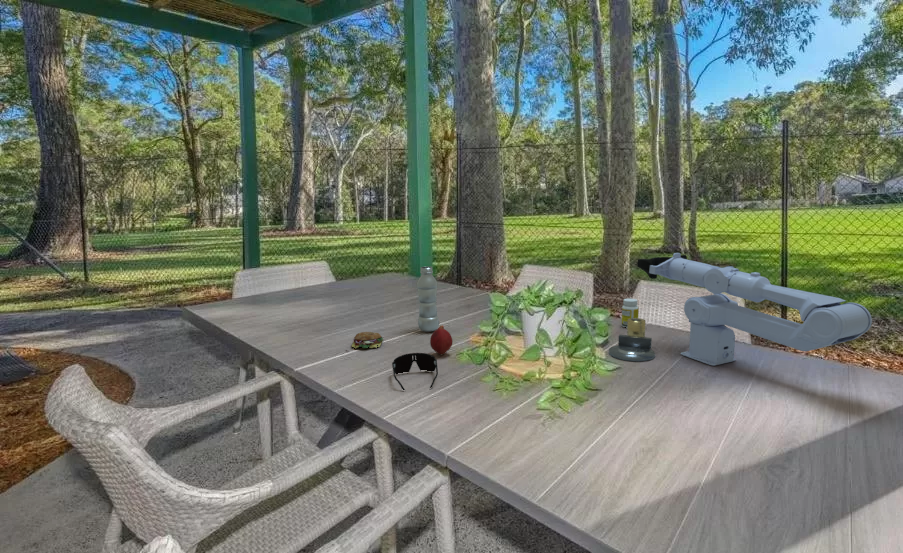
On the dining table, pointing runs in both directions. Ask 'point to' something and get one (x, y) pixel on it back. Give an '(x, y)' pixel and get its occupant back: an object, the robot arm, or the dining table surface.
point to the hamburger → (367, 340)
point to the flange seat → (633, 349)
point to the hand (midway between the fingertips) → (649, 261)
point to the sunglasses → (422, 361)
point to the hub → (636, 327)
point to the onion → (441, 340)
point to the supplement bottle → (629, 311)
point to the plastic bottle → (427, 300)
